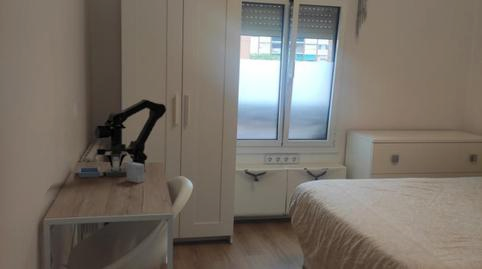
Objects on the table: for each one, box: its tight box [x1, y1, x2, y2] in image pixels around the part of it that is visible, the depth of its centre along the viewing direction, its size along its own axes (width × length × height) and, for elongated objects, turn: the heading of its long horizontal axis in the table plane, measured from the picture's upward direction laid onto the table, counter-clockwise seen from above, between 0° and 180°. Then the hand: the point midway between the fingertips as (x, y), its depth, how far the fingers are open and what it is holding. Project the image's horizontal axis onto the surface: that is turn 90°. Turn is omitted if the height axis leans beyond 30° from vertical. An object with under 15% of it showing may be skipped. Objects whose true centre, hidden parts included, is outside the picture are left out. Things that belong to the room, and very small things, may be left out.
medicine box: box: [126, 161, 145, 184], centre depth 214 cm, size 8×4×9 cm, turn 58°
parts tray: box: [78, 166, 101, 179], centre depth 223 cm, size 10×12×2 cm
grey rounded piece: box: [111, 156, 121, 171], centre depth 227 cm, size 4×4×8 cm
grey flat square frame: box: [104, 167, 127, 177], centre depth 227 cm, size 10×10×2 cm
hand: (115, 167), depth 227 cm, fingers closed on grey rounded piece, 4 cm apart
